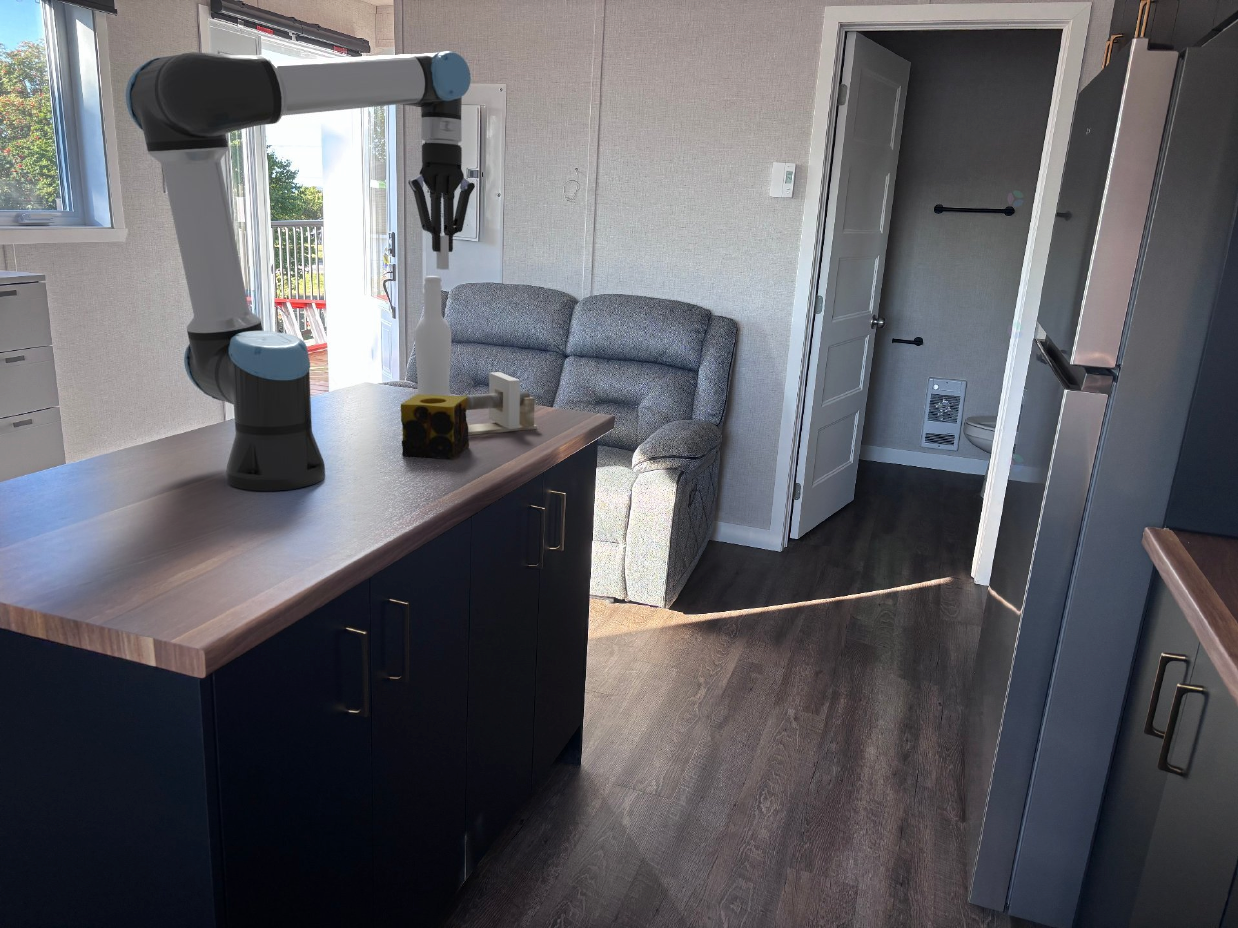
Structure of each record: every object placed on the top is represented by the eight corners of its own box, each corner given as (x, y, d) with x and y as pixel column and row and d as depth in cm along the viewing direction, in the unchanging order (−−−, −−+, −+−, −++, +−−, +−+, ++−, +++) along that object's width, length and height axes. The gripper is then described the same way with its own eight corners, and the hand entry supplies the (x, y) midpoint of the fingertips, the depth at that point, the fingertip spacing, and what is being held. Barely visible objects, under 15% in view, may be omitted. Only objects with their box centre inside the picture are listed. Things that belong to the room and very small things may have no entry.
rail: (451, 436, 184) (451, 398, 182) (441, 430, 189) (440, 393, 187) (537, 428, 194) (537, 392, 191) (524, 422, 198) (525, 387, 196)
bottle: (413, 410, 206) (411, 274, 198) (449, 409, 208) (449, 275, 200) (417, 418, 198) (414, 277, 190) (454, 417, 201) (454, 278, 193)
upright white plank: (508, 429, 188) (509, 380, 185) (488, 419, 196) (489, 372, 193) (519, 428, 189) (519, 380, 186) (499, 418, 197) (499, 372, 195)
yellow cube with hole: (469, 447, 176) (469, 396, 174) (455, 460, 167) (455, 406, 164) (417, 444, 177) (417, 393, 175) (400, 456, 168) (399, 403, 165)
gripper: (415, 139, 169) (417, 270, 175) (481, 145, 176) (480, 270, 182) (402, 141, 175) (404, 267, 181) (466, 146, 182) (466, 268, 188)
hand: (442, 269), depth 182 cm, fingers closed
